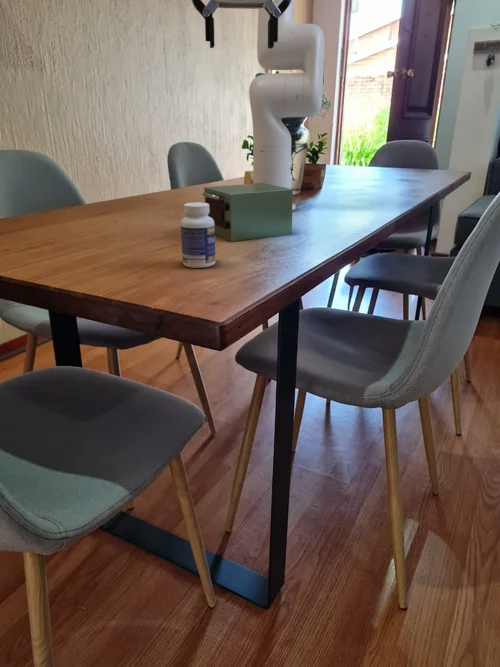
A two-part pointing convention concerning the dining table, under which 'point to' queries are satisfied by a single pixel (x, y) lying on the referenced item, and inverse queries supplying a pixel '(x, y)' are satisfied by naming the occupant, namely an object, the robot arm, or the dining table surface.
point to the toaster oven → (250, 210)
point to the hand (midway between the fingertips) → (241, 47)
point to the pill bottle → (197, 236)
